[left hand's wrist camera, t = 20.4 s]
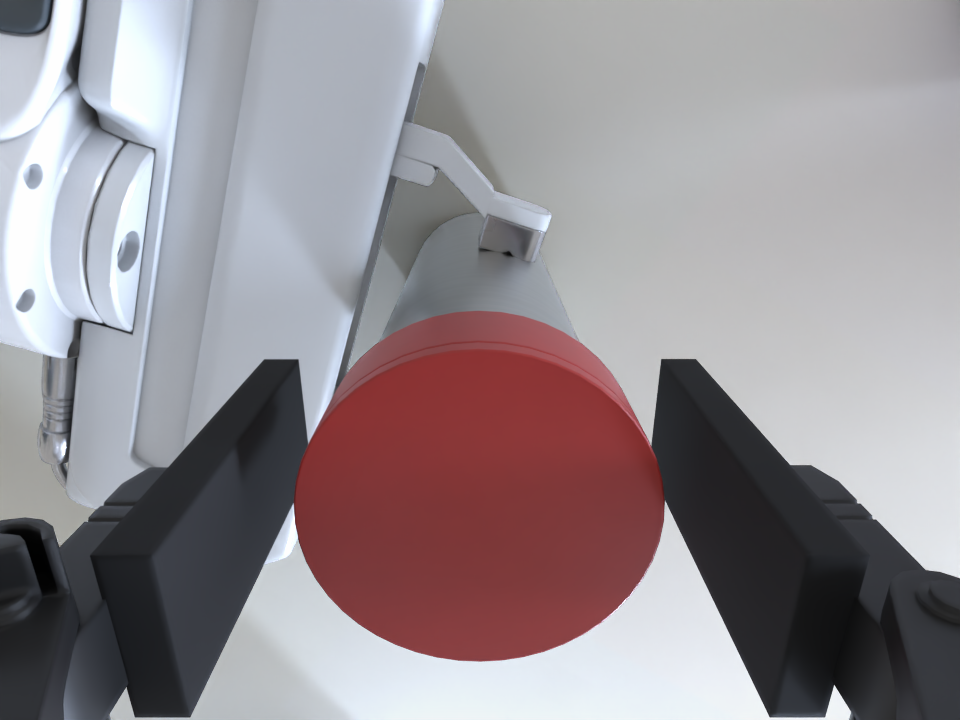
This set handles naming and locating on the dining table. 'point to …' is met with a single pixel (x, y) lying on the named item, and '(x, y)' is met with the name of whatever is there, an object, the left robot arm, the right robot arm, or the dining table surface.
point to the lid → (479, 489)
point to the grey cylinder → (475, 281)
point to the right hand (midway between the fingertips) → (506, 336)
